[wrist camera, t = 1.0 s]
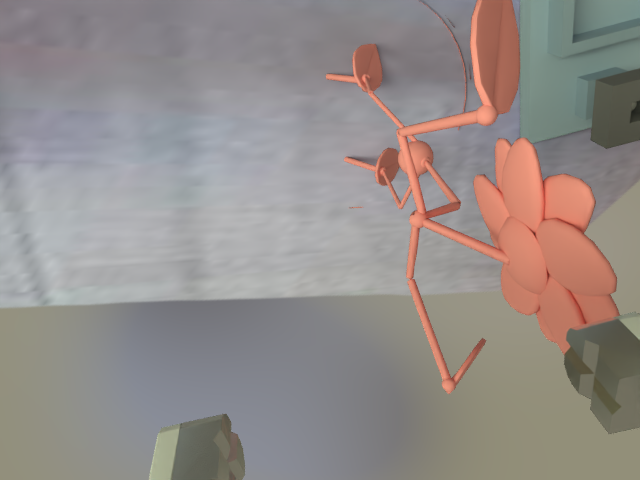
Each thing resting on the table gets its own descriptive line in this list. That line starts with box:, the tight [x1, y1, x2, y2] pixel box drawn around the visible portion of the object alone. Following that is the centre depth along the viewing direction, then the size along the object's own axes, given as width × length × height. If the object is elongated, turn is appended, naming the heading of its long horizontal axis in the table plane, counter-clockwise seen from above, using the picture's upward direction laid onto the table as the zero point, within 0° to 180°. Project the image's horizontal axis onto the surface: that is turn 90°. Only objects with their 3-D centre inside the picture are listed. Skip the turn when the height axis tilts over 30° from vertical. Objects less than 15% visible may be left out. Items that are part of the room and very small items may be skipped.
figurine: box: [326, 0, 620, 394], centre depth 35 cm, size 15×26×35 cm, turn 13°
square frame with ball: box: [591, 68, 640, 149], centre depth 45 cm, size 6×6×2 cm
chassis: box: [520, 0, 640, 143], centre depth 45 cm, size 20×14×8 cm
